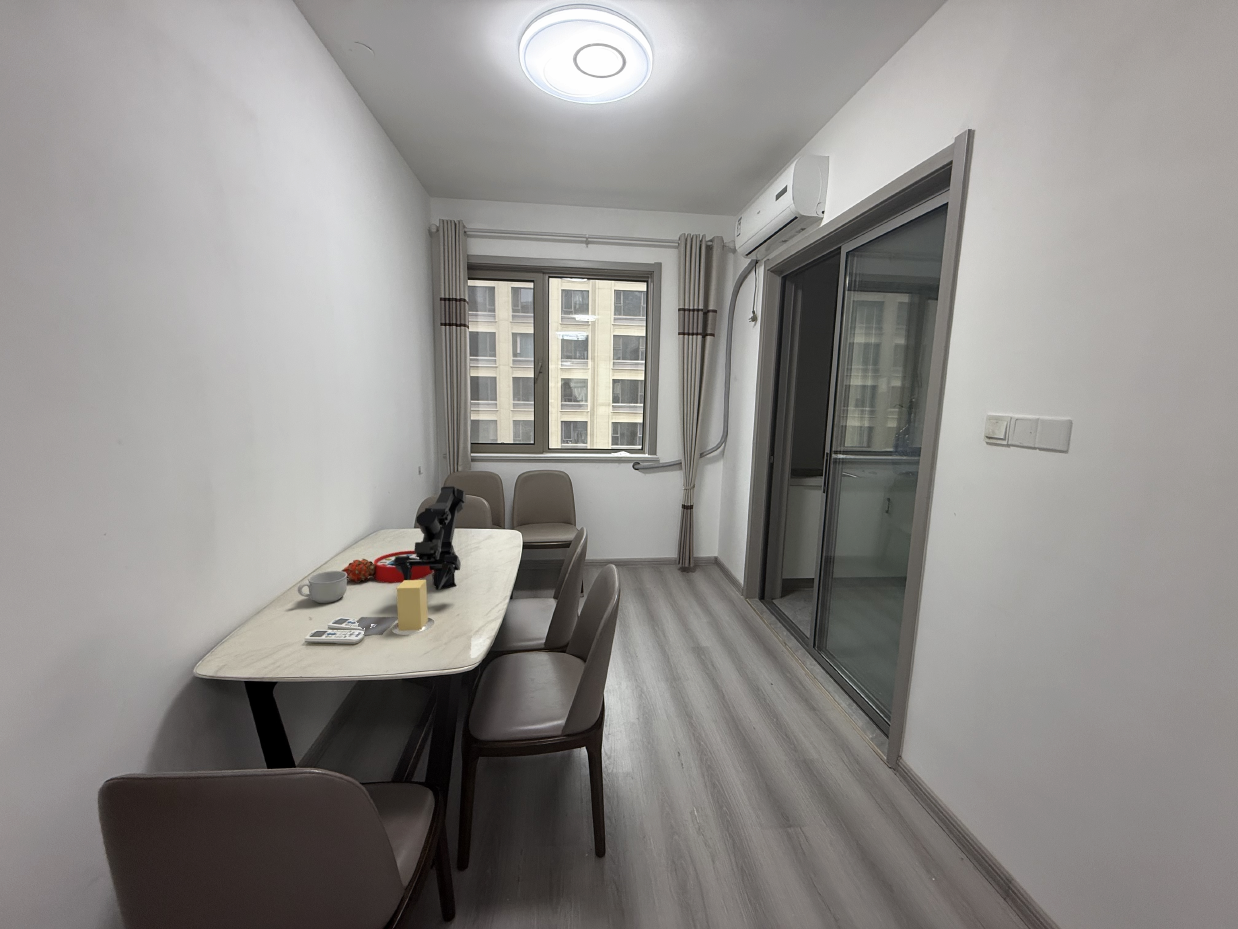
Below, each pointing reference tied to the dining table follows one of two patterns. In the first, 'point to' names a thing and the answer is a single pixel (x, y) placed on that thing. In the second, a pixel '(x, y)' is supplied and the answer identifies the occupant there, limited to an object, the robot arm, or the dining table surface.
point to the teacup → (325, 586)
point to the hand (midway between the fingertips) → (422, 589)
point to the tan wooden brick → (412, 605)
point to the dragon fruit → (360, 570)
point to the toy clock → (391, 574)
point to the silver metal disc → (408, 632)
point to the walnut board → (380, 628)
